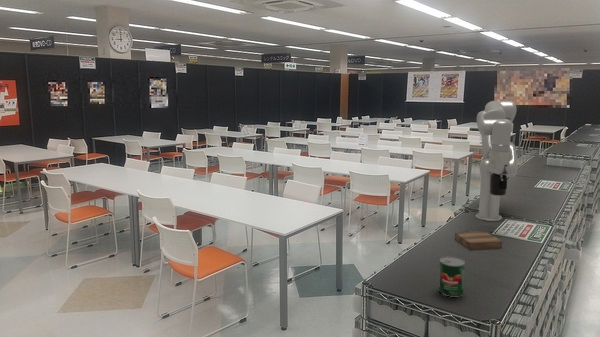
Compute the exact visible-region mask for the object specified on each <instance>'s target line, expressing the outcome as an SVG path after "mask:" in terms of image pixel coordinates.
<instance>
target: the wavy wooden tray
mask: <svg viewBox="0 0 600 337" xmlns="http://www.w3.org/2000/svg"><path fill="white" fill-rule="evenodd" d="M454 240H456V241H457V242H458V243H459V244H461V245H462V246H464V247H466V248H467V249H468V250H469V251H478V250H496V249H503V240H500V239H499V238H497V237H496V236H494V235H493V234H490V233H489V232H487V231H485V230H482V231H481V230H480V231H479V230H478V231H476V230H475V231H461V232H454Z"/></svg>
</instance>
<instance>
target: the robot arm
mask: <svg viewBox="0 0 600 337" xmlns="http://www.w3.org/2000/svg"><path fill="white" fill-rule="evenodd" d="M516 114H517V105H516V102H515V101H513V100H491V101H489V102H487V103H486V104H485V106H484V110H482V111H479V112H478V113H477V115H476V126H477V129H478V132H479V134H480V138H481V151H482V153H481V154H482V156H483V158H484V159H482V160H481V161H480V162H479V172H480V173H479V175H480V185H479V186H480V187H479V188H480V190H479V205H478V206H479V207H477V210H478V212H477V213H476V214H475V218H476V219H477V220H481V221H487V222H500V221H501V220H502V219H503V216H502V215H501V214H500V203H501V201H500V200H501V196H498V195H492V194H490V176H491V174H493V173H494V174H498V175H500V179H501V180H500V183H499V189H506V190H507V187H508V180H509V178H514V177H516V176H517V174H518V169H519V168H518V159H517V158H518V157H517V148H516V145H515V144H514V143H513V142H512V141H511V136H512V135H511V134H512V132H513V131H514V123H513V122H514V119H515V117H516ZM502 173H503V174H502ZM503 175H505V176H504V177H503Z"/></svg>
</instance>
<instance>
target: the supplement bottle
mask: <svg viewBox="0 0 600 337" xmlns="http://www.w3.org/2000/svg"><path fill="white" fill-rule="evenodd" d="M502 174H503V173H502ZM504 176H505V175H503V177H504ZM500 180H501V179H500V175H498V174H494V173H493V174H491V176H490V194H492V195H498V196H500V197H502V196H505V195H507V189H499V183H500Z"/></svg>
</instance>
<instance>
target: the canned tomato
mask: <svg viewBox="0 0 600 337" xmlns="http://www.w3.org/2000/svg"><path fill="white" fill-rule="evenodd" d="M438 260H439V266H438V268H439V270H438V271H439V272H438V290H440V291H441V292H442V293H444V294H446V295H449V296H462V295H463V294H464V291H465V290H464V289H465V288H464V287H465V270H466V268H465V266H466V261H465V260H464V259H462V258H459V257H458V256H457V257H456V256H442V257H440V258H439V259H438ZM463 296H464V295H463ZM463 296H462V297H463Z"/></svg>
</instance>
